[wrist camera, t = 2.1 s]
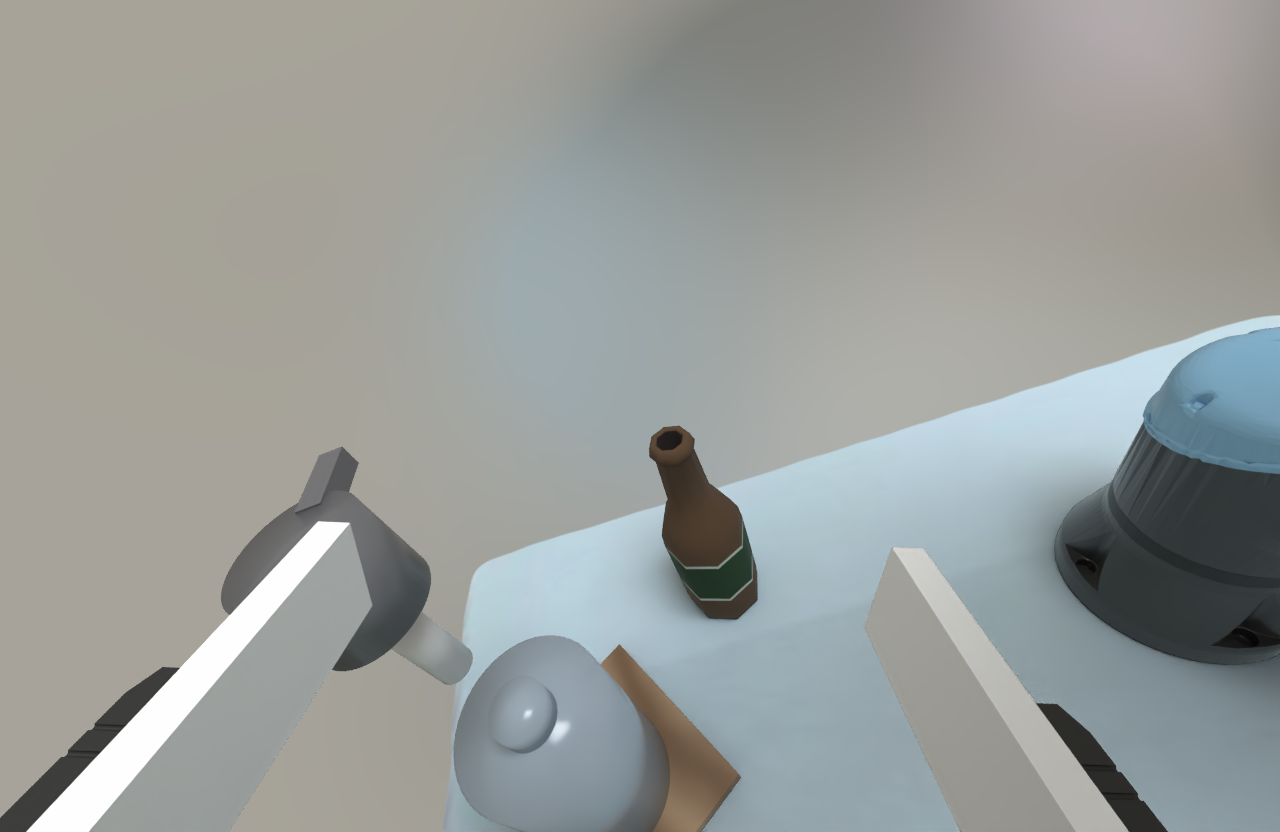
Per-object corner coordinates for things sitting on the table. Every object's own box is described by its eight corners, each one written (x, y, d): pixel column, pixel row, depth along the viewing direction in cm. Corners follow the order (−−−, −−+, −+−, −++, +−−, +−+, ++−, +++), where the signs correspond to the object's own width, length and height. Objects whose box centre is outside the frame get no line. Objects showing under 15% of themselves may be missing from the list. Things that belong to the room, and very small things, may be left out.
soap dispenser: (616, 680, 49) (539, 594, 38) (696, 774, 42) (631, 703, 30) (529, 776, 45) (413, 713, 34) (599, 899, 38) (482, 872, 26)
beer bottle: (678, 606, 54) (602, 464, 39) (708, 547, 58) (652, 398, 43) (744, 636, 50) (689, 490, 34) (772, 570, 54) (734, 413, 38)
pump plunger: (467, 568, 32) (339, 441, 24) (528, 652, 26) (387, 523, 19) (383, 642, 30) (211, 529, 22) (429, 749, 24) (223, 650, 16)
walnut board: (623, 648, 52) (619, 644, 52) (740, 777, 42) (738, 773, 41) (501, 780, 47) (495, 777, 46) (600, 968, 36) (594, 969, 35)
